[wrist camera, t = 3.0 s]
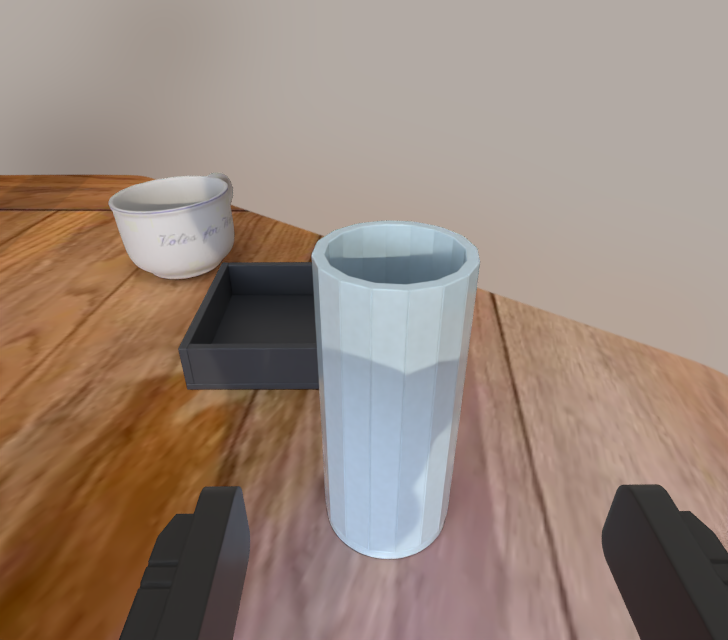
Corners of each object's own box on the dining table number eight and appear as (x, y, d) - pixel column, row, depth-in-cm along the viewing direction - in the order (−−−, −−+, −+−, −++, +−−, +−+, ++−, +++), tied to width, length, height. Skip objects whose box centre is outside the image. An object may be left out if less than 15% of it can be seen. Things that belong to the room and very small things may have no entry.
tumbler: (303, 525, 27) (279, 264, 19) (363, 446, 32) (362, 211, 24) (416, 582, 24) (442, 307, 17) (462, 486, 29) (500, 237, 21)
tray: (187, 389, 36) (177, 348, 35) (227, 296, 48) (222, 262, 46) (375, 388, 36) (376, 348, 35) (372, 296, 48) (372, 261, 46)
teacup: (176, 302, 47) (157, 217, 42) (105, 271, 52) (82, 193, 48) (281, 249, 56) (274, 176, 52) (212, 228, 62) (201, 159, 57)
